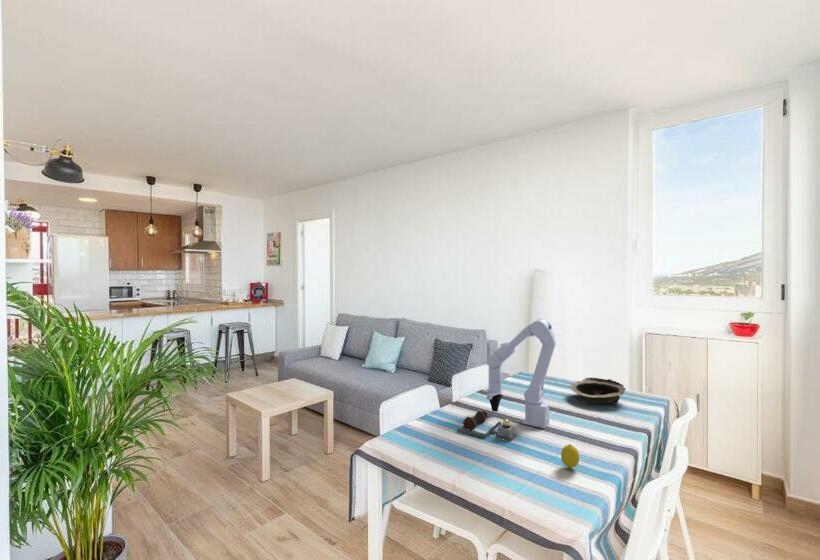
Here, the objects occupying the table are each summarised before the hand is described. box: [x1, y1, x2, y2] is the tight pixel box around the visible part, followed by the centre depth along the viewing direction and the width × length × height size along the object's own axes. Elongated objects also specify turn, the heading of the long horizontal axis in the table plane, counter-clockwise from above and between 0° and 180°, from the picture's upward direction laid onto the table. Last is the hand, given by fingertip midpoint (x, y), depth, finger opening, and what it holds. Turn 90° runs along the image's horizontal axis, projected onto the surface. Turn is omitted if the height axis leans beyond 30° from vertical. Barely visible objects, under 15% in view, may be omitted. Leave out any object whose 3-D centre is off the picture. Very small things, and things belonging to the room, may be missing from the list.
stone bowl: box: [569, 377, 626, 405], centre depth 197 cm, size 25×25×9 cm
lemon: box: [560, 443, 580, 470], centre depth 132 cm, size 6×6×8 cm
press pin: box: [502, 418, 510, 428], centre depth 156 cm, size 2×2×3 cm
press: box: [456, 421, 517, 442], centre depth 162 cm, size 21×17×4 cm
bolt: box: [462, 410, 489, 431], centre depth 169 cm, size 6×5×15 cm
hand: (494, 411), depth 179 cm, fingers closed
